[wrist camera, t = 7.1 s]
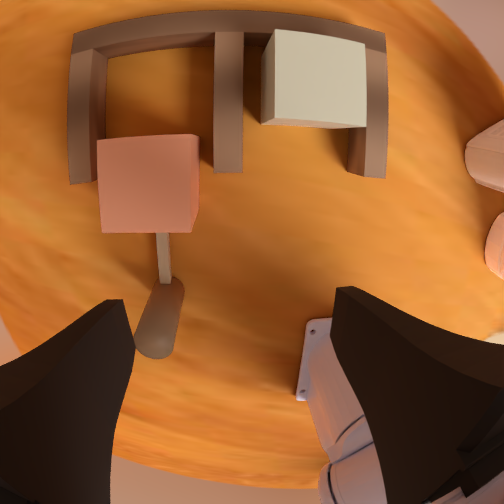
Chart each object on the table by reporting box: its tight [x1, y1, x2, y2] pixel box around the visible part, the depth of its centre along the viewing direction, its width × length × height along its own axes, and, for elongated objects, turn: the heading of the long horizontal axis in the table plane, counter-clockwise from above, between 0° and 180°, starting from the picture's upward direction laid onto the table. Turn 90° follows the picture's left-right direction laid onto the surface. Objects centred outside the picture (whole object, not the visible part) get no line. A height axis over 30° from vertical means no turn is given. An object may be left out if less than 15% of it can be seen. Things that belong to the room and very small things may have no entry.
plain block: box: [261, 29, 367, 129], centre depth 13 cm, size 4×4×5 cm
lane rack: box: [67, 10, 388, 185], centre depth 14 cm, size 10×18×2 cm, turn 90°
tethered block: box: [97, 134, 200, 359], centre depth 15 cm, size 11×4×6 cm, turn 178°
